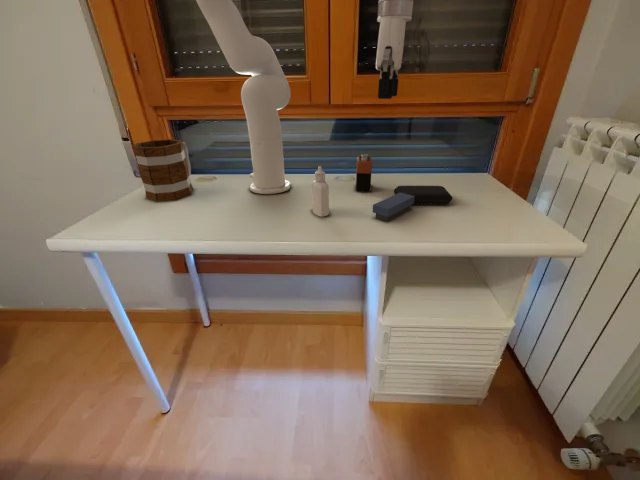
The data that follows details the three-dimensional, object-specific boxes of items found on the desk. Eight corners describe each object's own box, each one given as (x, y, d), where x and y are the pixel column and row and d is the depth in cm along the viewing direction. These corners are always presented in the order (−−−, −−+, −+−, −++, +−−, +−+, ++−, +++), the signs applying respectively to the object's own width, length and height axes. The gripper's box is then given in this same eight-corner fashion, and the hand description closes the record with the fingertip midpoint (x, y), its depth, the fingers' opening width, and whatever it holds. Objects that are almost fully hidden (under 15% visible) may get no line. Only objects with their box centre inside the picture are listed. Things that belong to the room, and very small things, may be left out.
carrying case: (442, 193, 94) (391, 192, 95) (444, 182, 92) (392, 182, 93) (453, 206, 84) (397, 205, 85) (455, 195, 83) (398, 195, 84)
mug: (178, 202, 90) (166, 148, 83) (135, 200, 92) (120, 148, 85) (210, 182, 107) (202, 135, 100) (174, 180, 109) (163, 135, 102)
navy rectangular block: (387, 223, 75) (388, 209, 74) (372, 218, 78) (372, 204, 76) (413, 209, 83) (415, 196, 81) (398, 205, 86) (399, 192, 84)
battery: (370, 185, 101) (371, 153, 97) (370, 192, 95) (372, 158, 91) (356, 184, 102) (357, 153, 97) (355, 191, 96) (356, 158, 91)
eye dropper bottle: (329, 208, 84) (329, 163, 79) (328, 217, 79) (328, 169, 74) (313, 208, 84) (312, 163, 79) (311, 217, 79) (309, 169, 74)
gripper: (383, 19, 79) (378, 94, 87) (370, 7, 65) (365, 99, 73) (415, 17, 77) (406, 95, 85) (408, 5, 62) (399, 100, 70)
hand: (387, 97), depth 79 cm, fingers open, 9 cm apart
